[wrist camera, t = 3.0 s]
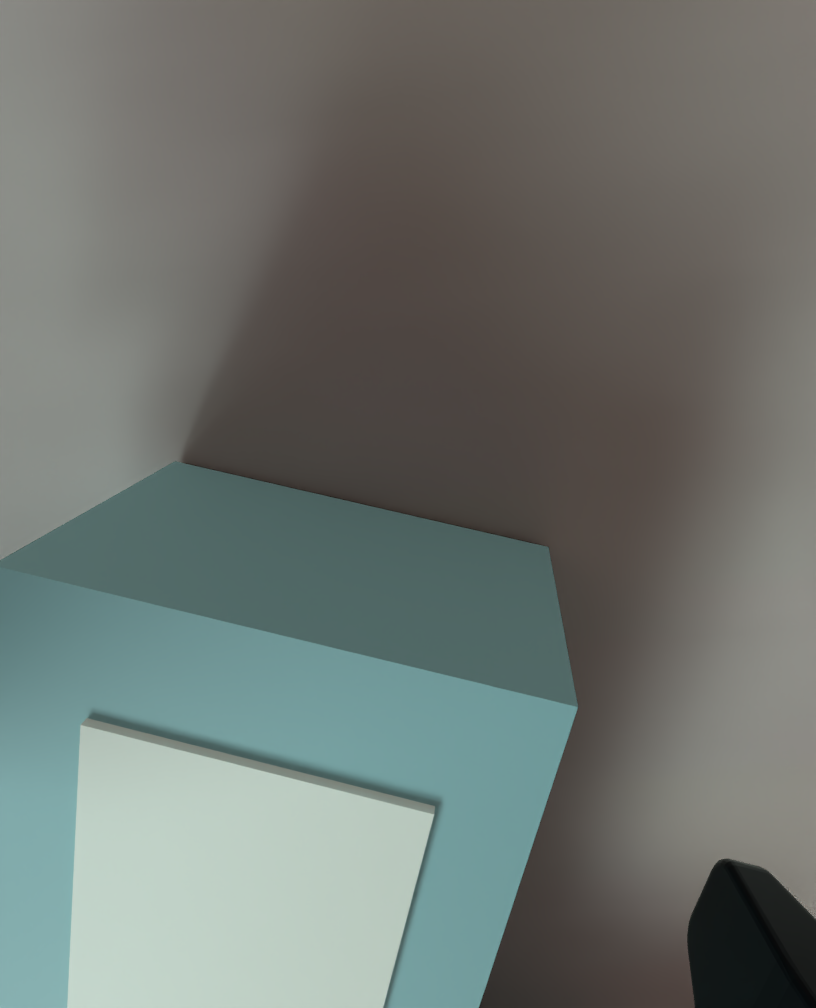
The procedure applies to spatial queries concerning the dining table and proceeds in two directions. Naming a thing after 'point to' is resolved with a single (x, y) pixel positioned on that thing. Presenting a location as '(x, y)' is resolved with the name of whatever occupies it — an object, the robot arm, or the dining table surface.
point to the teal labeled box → (269, 750)
